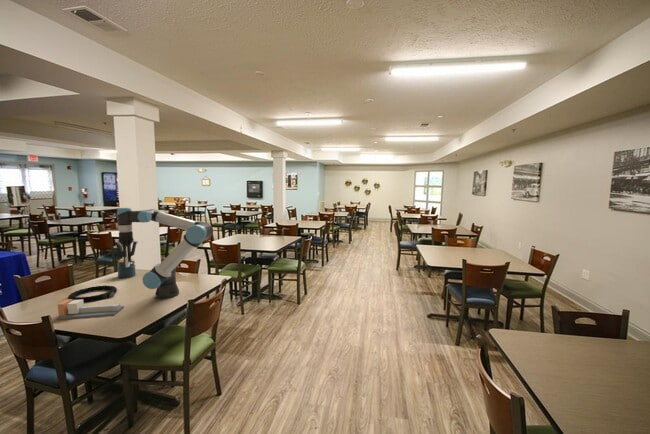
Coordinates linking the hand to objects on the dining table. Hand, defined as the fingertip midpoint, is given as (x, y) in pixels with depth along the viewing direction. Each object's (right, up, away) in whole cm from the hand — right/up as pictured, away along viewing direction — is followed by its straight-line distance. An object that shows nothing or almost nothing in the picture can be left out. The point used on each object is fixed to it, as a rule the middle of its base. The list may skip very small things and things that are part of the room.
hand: (127, 266), depth 194 cm
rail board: (-12, -26, -15) cm, 32 cm away
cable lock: (-33, -24, +14) cm, 43 cm away
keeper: (-20, -25, -17) cm, 36 cm away
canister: (-41, -19, +60) cm, 75 cm away
